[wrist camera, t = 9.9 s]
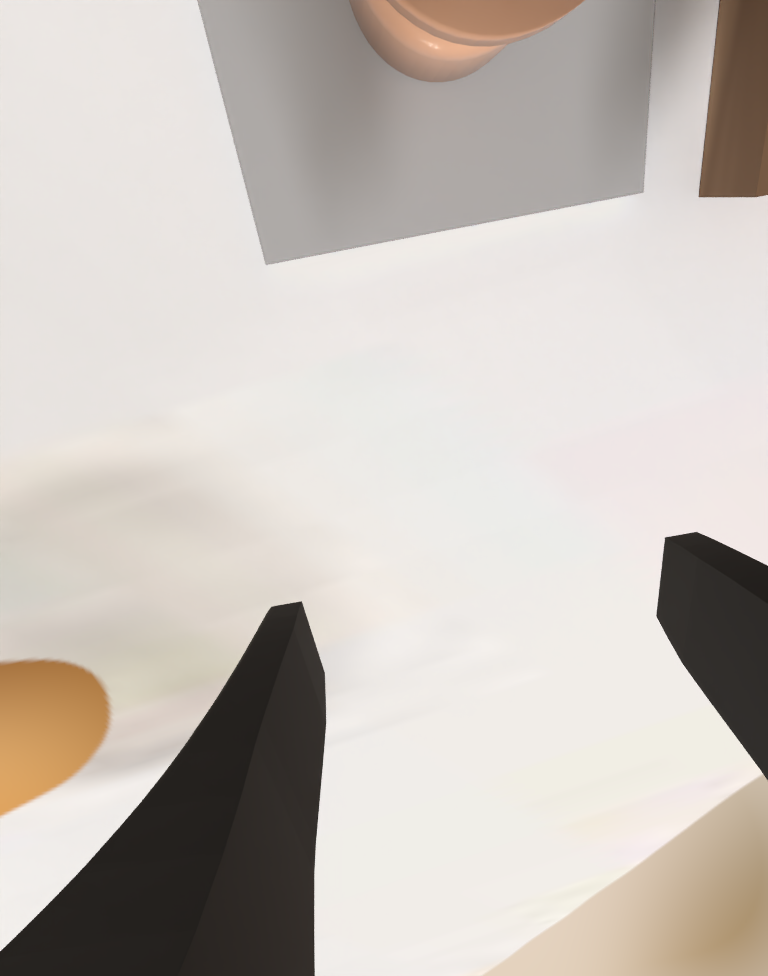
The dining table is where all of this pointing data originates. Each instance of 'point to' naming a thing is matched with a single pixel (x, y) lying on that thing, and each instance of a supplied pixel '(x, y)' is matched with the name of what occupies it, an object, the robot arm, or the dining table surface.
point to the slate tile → (424, 123)
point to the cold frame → (738, 104)
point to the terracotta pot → (451, 31)
